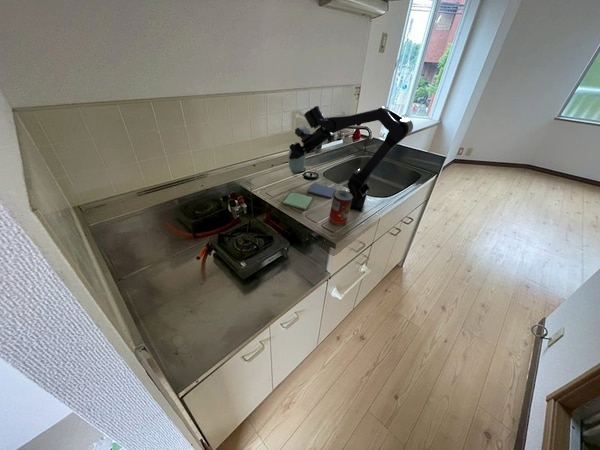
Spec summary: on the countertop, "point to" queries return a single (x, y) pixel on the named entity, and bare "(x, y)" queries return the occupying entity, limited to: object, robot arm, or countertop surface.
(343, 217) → the soda can
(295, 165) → the cup
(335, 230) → the countertop surface
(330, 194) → the can mat
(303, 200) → the cup mat
